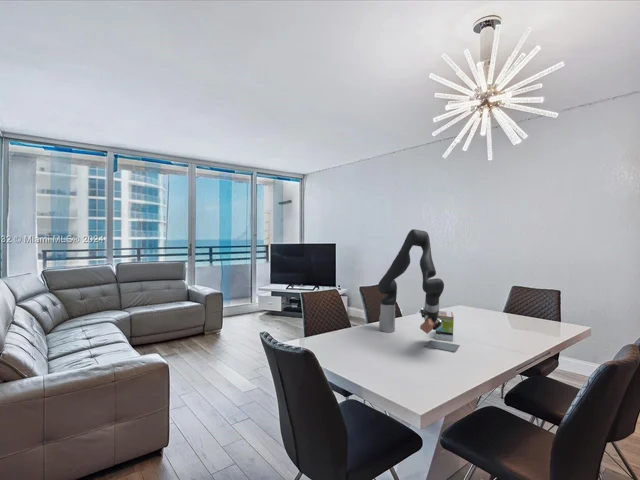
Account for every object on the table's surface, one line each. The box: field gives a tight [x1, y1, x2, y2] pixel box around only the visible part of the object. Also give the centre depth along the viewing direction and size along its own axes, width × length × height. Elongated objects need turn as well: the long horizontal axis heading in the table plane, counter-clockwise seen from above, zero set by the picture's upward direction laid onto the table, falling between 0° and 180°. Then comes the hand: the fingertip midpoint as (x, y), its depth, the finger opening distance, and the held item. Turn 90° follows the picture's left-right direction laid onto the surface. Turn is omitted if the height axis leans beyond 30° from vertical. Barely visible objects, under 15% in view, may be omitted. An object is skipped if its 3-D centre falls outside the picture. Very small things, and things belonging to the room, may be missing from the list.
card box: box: [419, 319, 438, 335], centre depth 193 cm, size 3×5×11 cm
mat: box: [423, 339, 460, 353], centre depth 188 cm, size 16×13×1 cm
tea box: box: [435, 310, 455, 342], centre depth 206 cm, size 15×10×15 cm, turn 161°
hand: (430, 326), depth 194 cm, fingers closed on card box, 5 cm apart
